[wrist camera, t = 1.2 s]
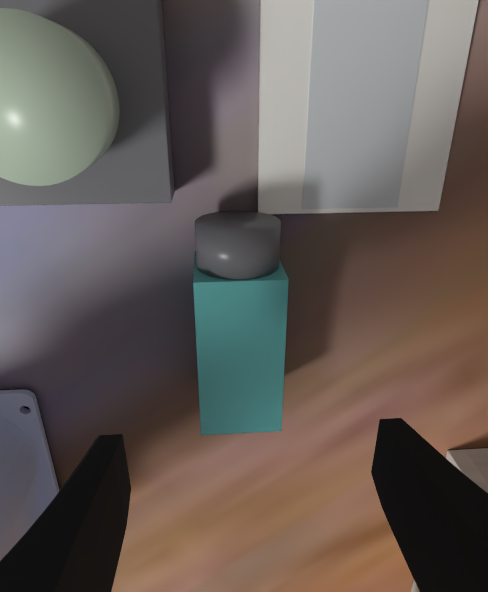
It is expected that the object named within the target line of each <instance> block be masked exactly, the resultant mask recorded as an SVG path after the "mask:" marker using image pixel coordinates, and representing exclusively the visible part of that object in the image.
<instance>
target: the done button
mask: <svg viewBox="0 0 488 592" xmlns="http://www.w3.org/2000/svg"><path fill="white" fill-rule="evenodd" d="M119 113H120V110H119V98H118V93H117V89H116V86H115V82H114V80H113V77H112V75H111V73H110V71H109V69H108V67H107V65H106V64H105V62H104V61H103V59H102V58H101V56H100V55H99V54H98V52H97V51H96V50H95V49H94V48H93V47H92V46H91V45H90V44H89V43H88V42H87V41H86V40H84V39H83V38H82V37H81V36H79V35H78V34H76V33H75V32H73V31H71V30H70V29H68V28H66V27H64V26H62V25H59V24H57V23H55V22H53V21H50V20H48V19H46V18H43V17H41V16H39V15H36V14H33V13H31V12H27V11H23V10H19V9H11V8H0V177H1V178H3V179H6V180H8V181H11V182H15V183H18V184H23V185H29V186H47V185H53V184H58V183H61V182H64V181H66V180H69V179H71V178H72V177H74V176H76V175H78V174H79V173H81V172H82V171H84V170H85V169H87V168H88V167H90V166H91V165H93V164H94V163H95V162H97V161H98V160H99V159H100V158H101V157H102V156H103V155H104V154H105V153H106V151H107V150H108V149H109V147H110V146H111V144H112V142H113V140H114V137H115V135H116V132H117V128H118V123H119Z"/></svg>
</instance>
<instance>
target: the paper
mask: <svg viewBox="0 0 488 592" xmlns="http://www.w3.org/2000/svg"><path fill="white" fill-rule="evenodd" d="M478 1H479V0H261V2H260V78H259V154H258V212H261V213H266V214H305V213H354V212H403V211H438V210H439V205H440V200H441V195H442V189H443V184H444V179H445V174H446V168H447V163H448V158H449V153H450V147H451V142H452V137H453V132H454V126H455V121H456V116H457V111H458V106H459V100H460V95H461V90H462V85H463V79H464V74H465V69H466V64H467V58H468V53H469V48H470V43H471V37H472V32H473V27H474V22H475V17H476V11H477V6H478Z"/></svg>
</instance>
